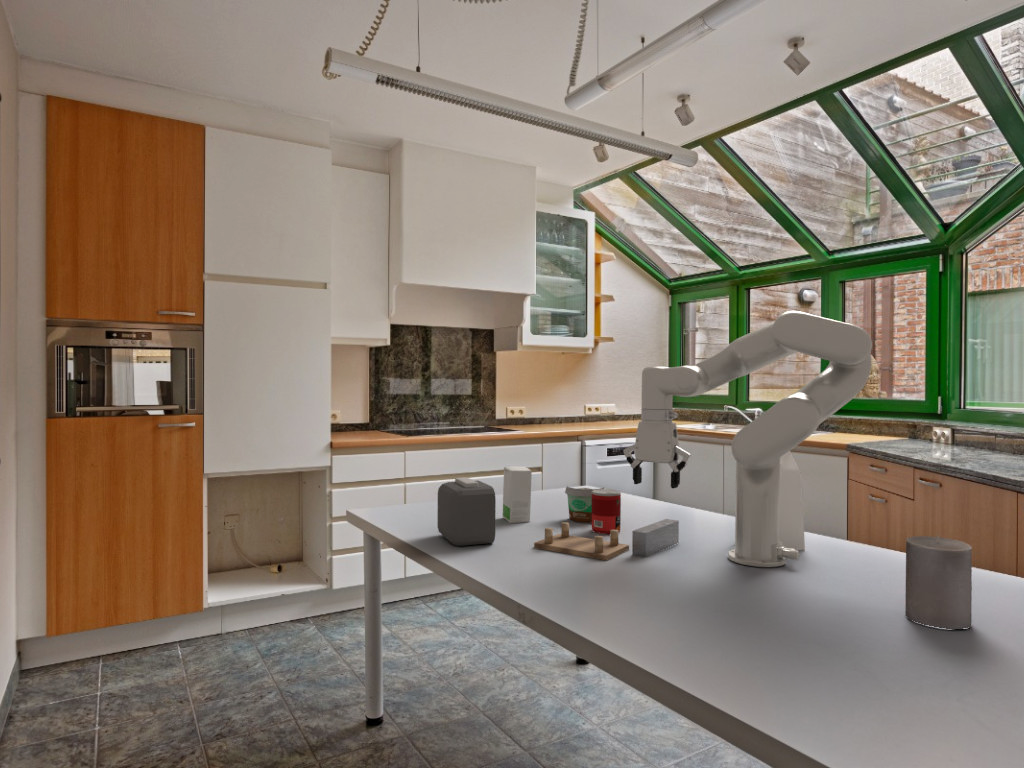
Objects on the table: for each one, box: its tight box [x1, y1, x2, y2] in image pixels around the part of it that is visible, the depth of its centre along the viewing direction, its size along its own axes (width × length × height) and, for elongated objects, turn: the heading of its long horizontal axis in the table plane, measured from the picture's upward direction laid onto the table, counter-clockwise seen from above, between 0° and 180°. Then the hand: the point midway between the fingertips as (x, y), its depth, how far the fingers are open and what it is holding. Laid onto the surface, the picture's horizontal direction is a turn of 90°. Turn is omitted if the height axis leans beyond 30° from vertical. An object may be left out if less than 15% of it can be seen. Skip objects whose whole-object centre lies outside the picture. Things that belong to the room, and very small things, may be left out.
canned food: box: [591, 488, 622, 535], centre depth 180 cm, size 8×8×11 cm
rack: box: [533, 521, 630, 562], centre depth 161 cm, size 20×12×5 cm, turn 55°
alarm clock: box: [437, 476, 497, 547], centre depth 169 cm, size 16×11×16 cm
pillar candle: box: [904, 534, 973, 629], centre depth 113 cm, size 10×10×15 cm
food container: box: [564, 485, 605, 524], centre depth 192 cm, size 12×6×10 cm, turn 73°
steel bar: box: [631, 518, 680, 559], centre depth 161 cm, size 18×4×6 cm, turn 141°
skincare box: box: [502, 465, 533, 524], centre depth 194 cm, size 8×7×16 cm
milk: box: [779, 450, 806, 551], centre depth 167 cm, size 12×12×26 cm
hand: (655, 485), depth 161 cm, fingers open, 9 cm apart
